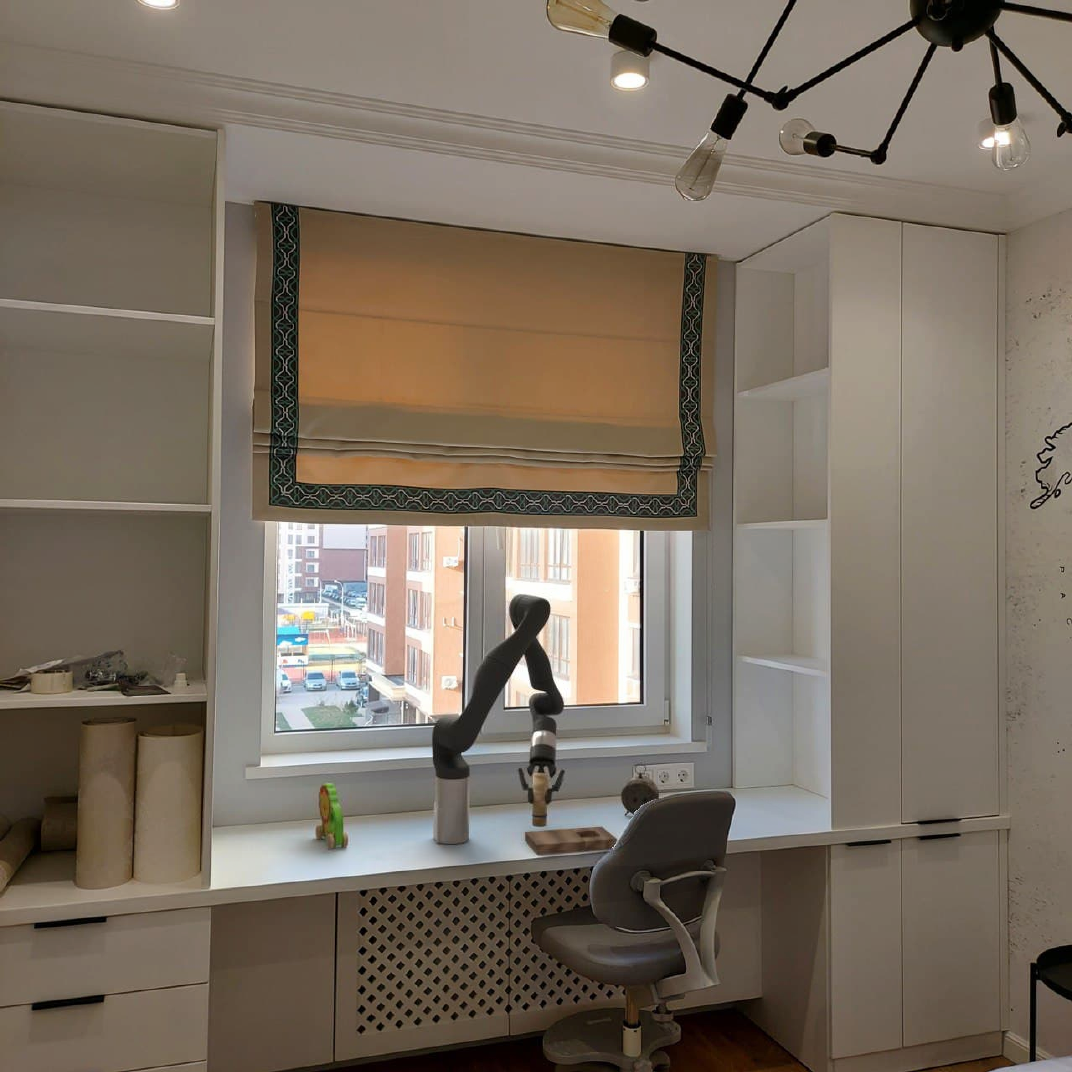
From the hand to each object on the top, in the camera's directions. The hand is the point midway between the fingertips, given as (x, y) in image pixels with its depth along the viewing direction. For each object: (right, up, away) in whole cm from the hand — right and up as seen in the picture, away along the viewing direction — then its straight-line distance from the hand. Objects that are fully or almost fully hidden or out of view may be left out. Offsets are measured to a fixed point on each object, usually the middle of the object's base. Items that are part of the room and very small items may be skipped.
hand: (539, 802), depth 261 cm
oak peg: (0, -7, +2) cm, 7 cm away
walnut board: (+8, -9, -8) cm, 15 cm away
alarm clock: (+30, -10, +18) cm, 36 cm away
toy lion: (-56, -9, -8) cm, 57 cm away
